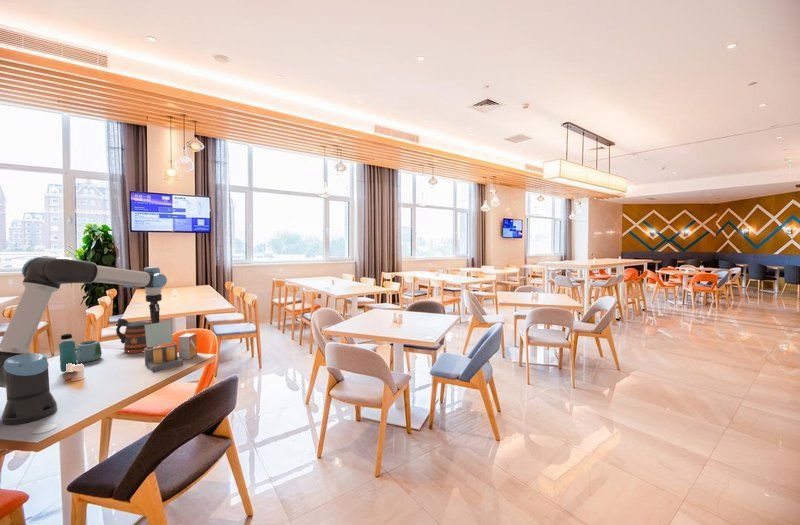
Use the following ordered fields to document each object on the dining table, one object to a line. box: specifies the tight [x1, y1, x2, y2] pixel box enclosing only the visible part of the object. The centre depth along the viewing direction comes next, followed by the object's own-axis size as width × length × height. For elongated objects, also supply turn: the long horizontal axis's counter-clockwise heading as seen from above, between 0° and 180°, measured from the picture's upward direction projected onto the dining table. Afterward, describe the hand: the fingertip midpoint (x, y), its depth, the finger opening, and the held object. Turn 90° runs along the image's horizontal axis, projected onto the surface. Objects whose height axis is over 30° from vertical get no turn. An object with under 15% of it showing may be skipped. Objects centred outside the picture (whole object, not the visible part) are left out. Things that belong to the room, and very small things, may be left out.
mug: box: [76, 340, 103, 363], centre depth 201 cm, size 15×11×10 cm
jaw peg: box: [166, 347, 175, 362], centre depth 197 cm, size 4×4×9 cm
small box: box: [177, 332, 198, 360], centre depth 208 cm, size 8×6×13 cm
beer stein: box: [115, 318, 154, 354], centre depth 220 cm, size 19×15×20 cm
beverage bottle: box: [58, 333, 78, 373], centre depth 183 cm, size 6×7×20 cm
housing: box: [143, 342, 184, 372], centre depth 195 cm, size 15×14×10 cm
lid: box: [145, 320, 175, 348], centre depth 200 cm, size 12×12×1 cm
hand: (155, 334), depth 206 cm, fingers closed
